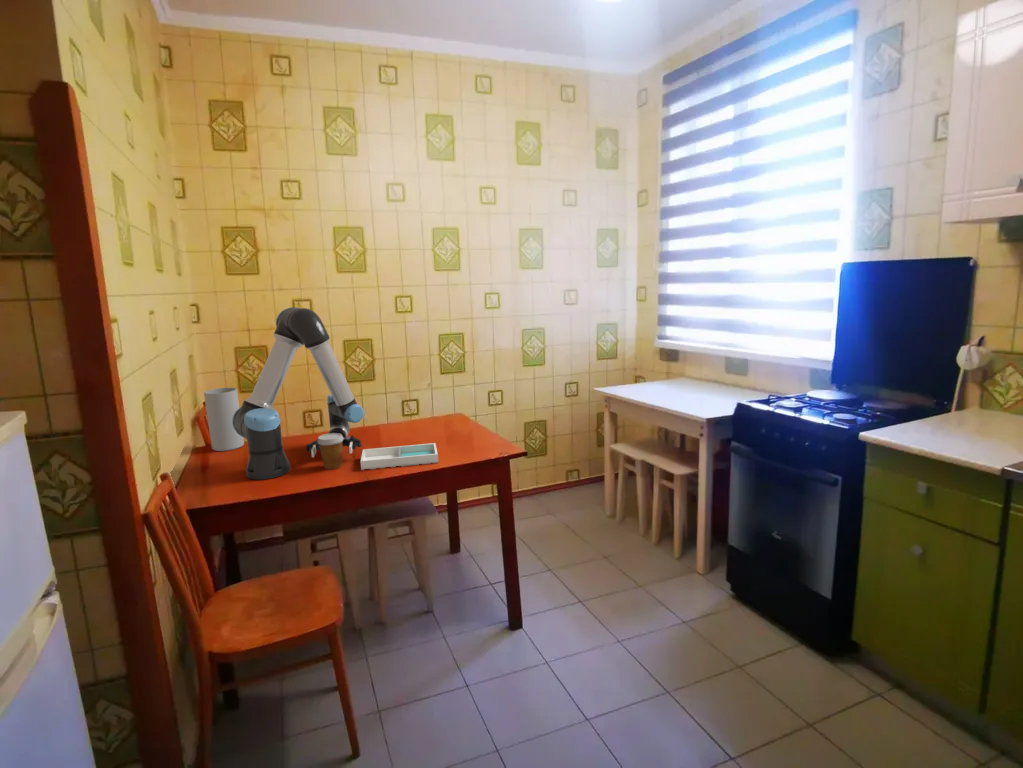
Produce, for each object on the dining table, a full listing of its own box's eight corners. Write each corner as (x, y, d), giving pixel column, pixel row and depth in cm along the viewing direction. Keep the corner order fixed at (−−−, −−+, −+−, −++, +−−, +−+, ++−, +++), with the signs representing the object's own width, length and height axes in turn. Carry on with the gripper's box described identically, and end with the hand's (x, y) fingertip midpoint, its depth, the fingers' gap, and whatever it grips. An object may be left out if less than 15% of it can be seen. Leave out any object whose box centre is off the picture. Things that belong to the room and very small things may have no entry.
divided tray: (361, 470, 207) (360, 461, 206) (363, 457, 221) (362, 449, 220) (438, 462, 212) (437, 454, 211) (435, 451, 226) (435, 443, 225)
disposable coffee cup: (338, 471, 206) (335, 440, 204) (315, 470, 208) (311, 439, 206) (350, 462, 215) (347, 433, 213) (328, 462, 217) (325, 432, 215)
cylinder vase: (235, 451, 235) (227, 393, 230) (206, 452, 235) (197, 394, 231) (249, 442, 247) (242, 387, 242) (222, 443, 248) (214, 388, 243)
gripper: (369, 442, 232) (366, 458, 211) (306, 447, 227) (297, 464, 207) (367, 424, 230) (365, 439, 210) (304, 430, 226) (295, 445, 205)
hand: (331, 452), depth 208 cm, fingers open, 13 cm apart
